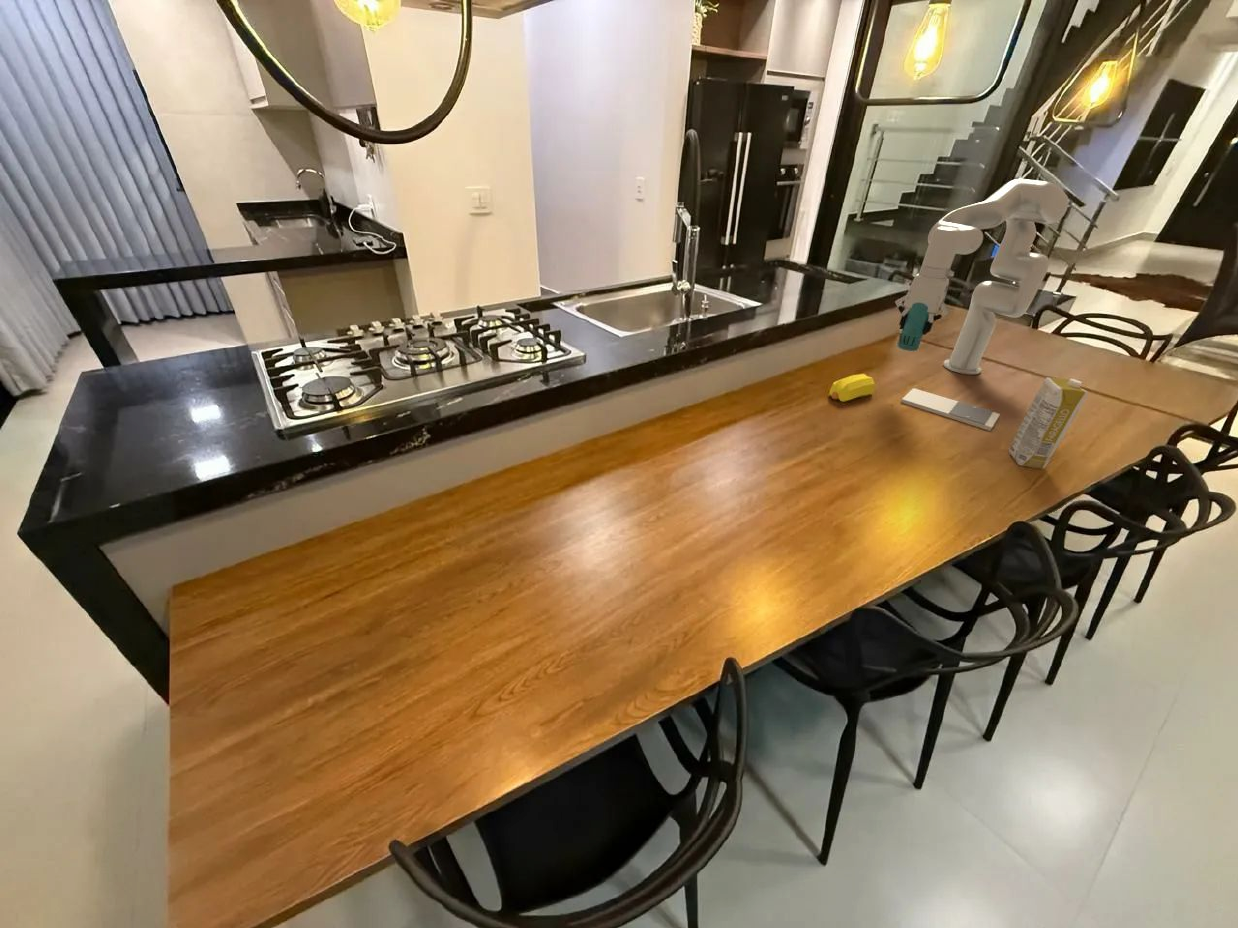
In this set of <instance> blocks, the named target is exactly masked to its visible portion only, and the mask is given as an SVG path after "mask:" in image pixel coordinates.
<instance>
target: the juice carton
mask: <svg viewBox="0 0 1238 928" xmlns="http://www.w3.org/2000/svg"><path fill="white" fill-rule="evenodd" d="M1081 385H1082V381H1080V380H1078V379H1074V378H1070V379H1068V378H1061V377H1060V378H1059V377H1050V376H1049V377H1046V378H1045V379H1044V381H1043V382H1042V384H1041V386H1040V387H1039V389H1038V391H1037V393H1036V395H1035V396H1034V398H1033V400H1032V403H1030V404H1031V405H1030V406H1029V408H1028V410H1027V412H1026V413H1025V416H1024V418H1023V420H1022V421H1021V424H1020V426H1019V428H1018V430H1017V432H1015V433H1016V434H1015V436H1014V438H1013V439H1012V441H1011V443H1010V446H1009V448H1008V452H1009V454H1010V456H1012V457H1013V459H1014V460H1015V462H1016V463H1017V465H1019V466H1021V467H1025V468H1026V467H1028V468H1033V469H1045V468H1046V467H1047V466H1048V463H1049V462H1050V461H1051V460H1052V458H1053V456H1054V454H1055V453H1056V450H1058V448H1059V446H1060V443H1061V442H1062V440H1063V439H1064V437H1065V435H1066V433H1067V432H1068V430H1069V428H1070V427H1071V425H1072V422H1073V421H1074V419H1075V417H1076V416H1077V414H1078V413H1079V411H1080V409H1081V407H1082V405H1083V403H1084V402H1085V400H1086V398H1087V395H1088V394H1089V393H1088V391H1087V390H1085V389H1083V388H1081V387H1080V386H1081Z"/></svg>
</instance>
